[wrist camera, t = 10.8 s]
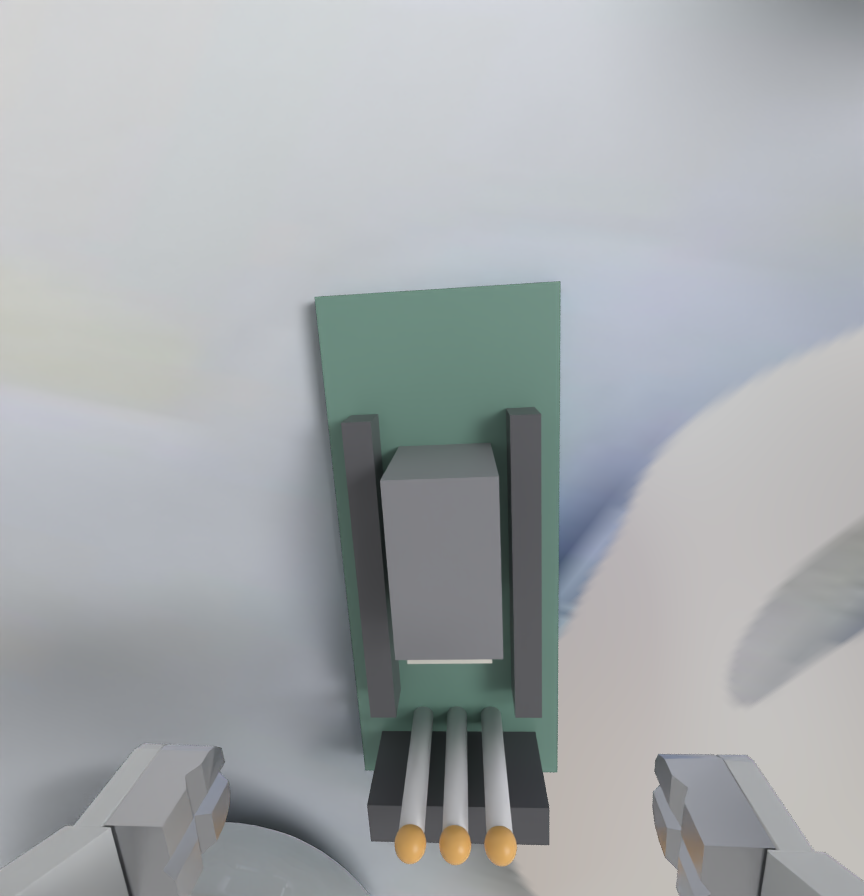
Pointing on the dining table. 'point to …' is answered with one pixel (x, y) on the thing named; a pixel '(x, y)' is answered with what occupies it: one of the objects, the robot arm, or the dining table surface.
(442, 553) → the plug
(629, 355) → the dining table surface
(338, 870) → the serving bowl
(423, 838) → the header board
